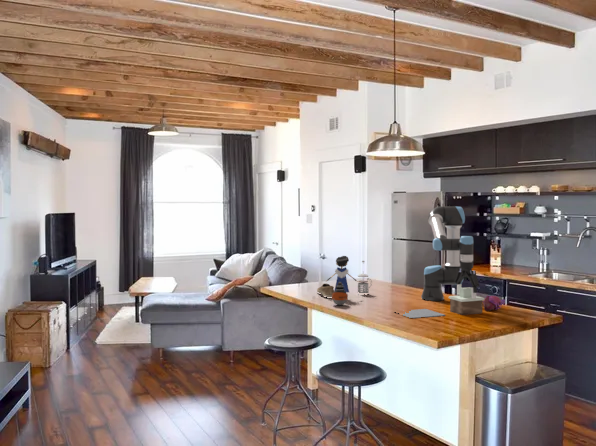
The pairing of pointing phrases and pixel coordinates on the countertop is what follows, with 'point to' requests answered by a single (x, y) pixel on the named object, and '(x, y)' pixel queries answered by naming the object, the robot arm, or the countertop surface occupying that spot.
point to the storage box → (466, 307)
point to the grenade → (340, 295)
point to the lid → (466, 295)
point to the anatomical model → (492, 303)
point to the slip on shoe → (326, 290)
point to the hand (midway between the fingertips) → (466, 296)
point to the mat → (422, 313)
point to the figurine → (342, 272)
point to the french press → (365, 285)
